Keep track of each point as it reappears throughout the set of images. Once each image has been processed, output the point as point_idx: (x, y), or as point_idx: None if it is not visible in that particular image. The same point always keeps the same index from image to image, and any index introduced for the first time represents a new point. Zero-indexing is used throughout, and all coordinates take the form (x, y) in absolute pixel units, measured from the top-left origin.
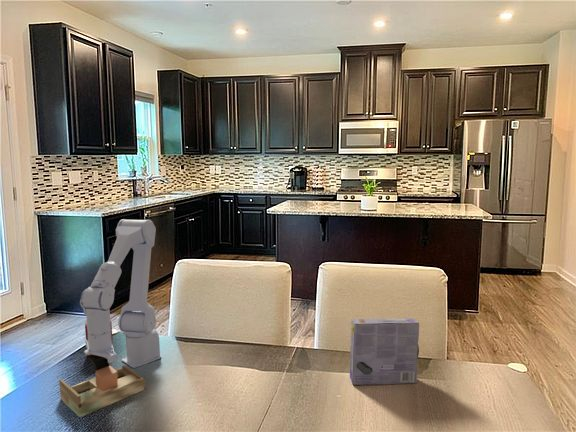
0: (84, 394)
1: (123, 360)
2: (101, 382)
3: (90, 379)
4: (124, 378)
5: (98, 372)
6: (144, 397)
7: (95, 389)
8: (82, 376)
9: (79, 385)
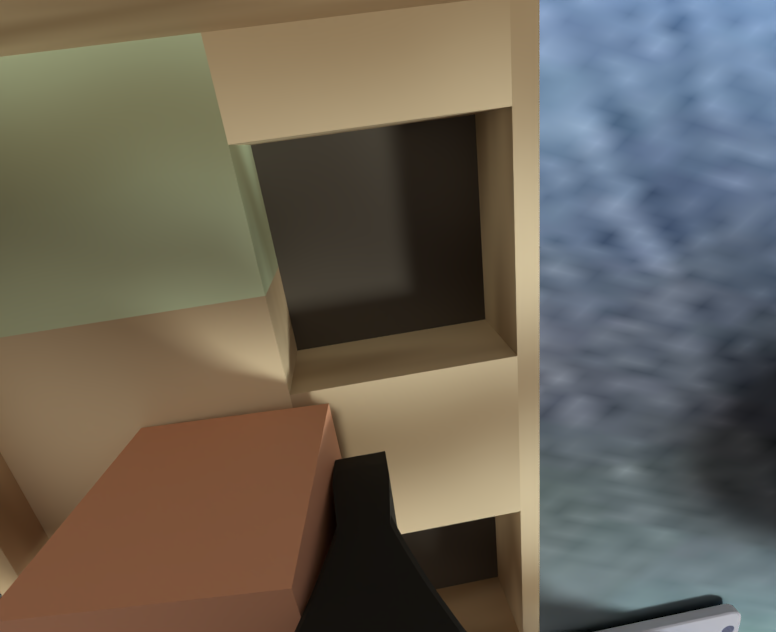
0: (182, 229)
1: (706, 619)
2: (116, 504)
3: (536, 376)
4: None
5: (198, 612)
6: None
7: (242, 370)
8: (767, 319)
9: (510, 240)
